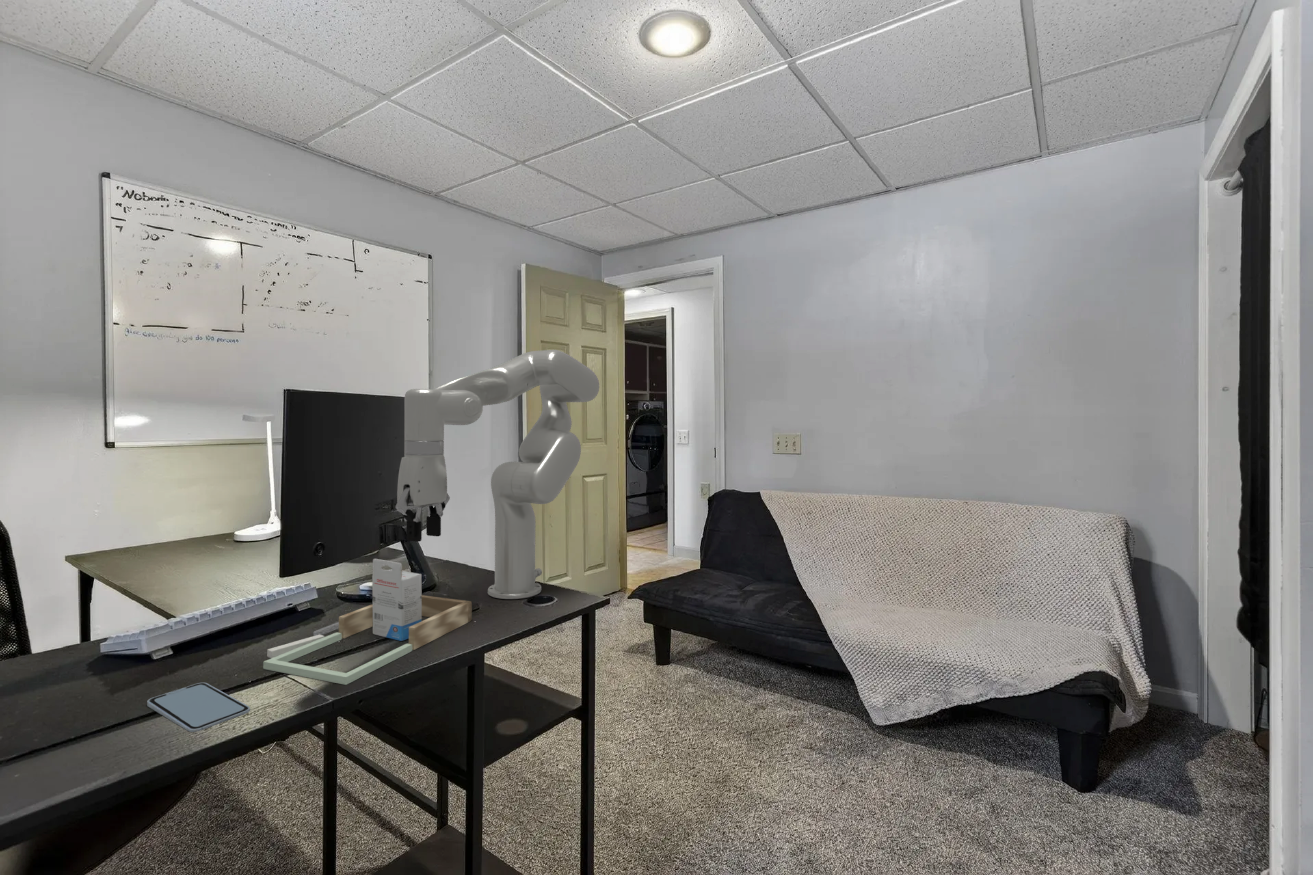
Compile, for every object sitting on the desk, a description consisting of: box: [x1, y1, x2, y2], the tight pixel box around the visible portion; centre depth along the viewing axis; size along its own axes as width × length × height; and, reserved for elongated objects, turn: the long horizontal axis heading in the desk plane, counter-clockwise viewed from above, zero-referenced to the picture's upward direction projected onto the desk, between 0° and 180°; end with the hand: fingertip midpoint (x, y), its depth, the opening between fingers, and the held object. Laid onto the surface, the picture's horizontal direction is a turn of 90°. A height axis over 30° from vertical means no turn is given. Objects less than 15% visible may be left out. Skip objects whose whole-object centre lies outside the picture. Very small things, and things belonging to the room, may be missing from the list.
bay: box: [262, 631, 413, 686], centre depth 103 cm, size 15×17×1 cm
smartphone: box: [146, 682, 251, 733], centre depth 85 cm, size 7×1×15 cm
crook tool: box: [312, 621, 339, 637], centre depth 119 cm, size 12×5×1 cm, turn 161°
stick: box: [266, 634, 325, 659], centre depth 107 cm, size 9×2×2 cm, turn 148°
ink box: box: [371, 558, 423, 642], centre depth 115 cm, size 9×5×15 cm, turn 62°
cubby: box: [338, 594, 473, 651], centre depth 118 cm, size 17×17×4 cm
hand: (424, 537), depth 122 cm, fingers open, 5 cm apart
